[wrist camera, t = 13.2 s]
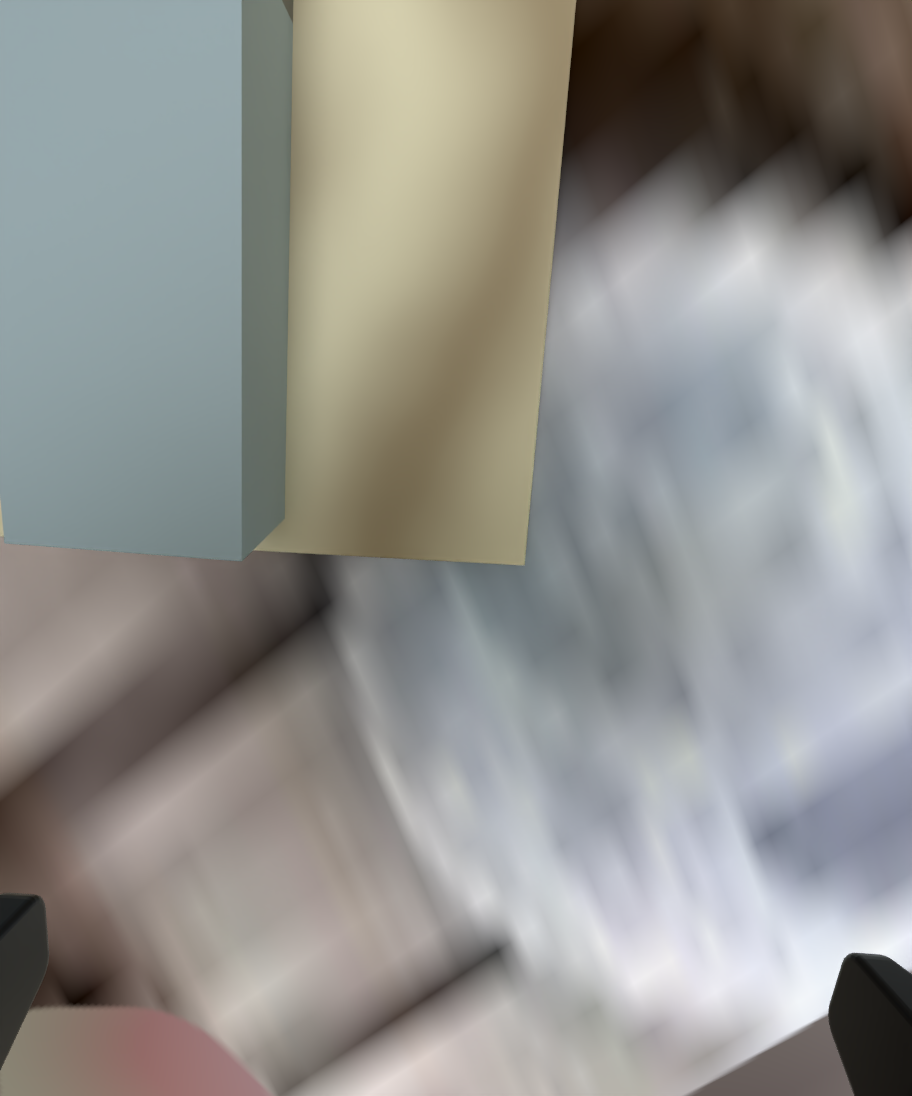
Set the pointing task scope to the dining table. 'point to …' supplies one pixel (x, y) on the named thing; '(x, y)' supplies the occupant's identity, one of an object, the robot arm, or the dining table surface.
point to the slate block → (144, 273)
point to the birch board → (419, 273)
